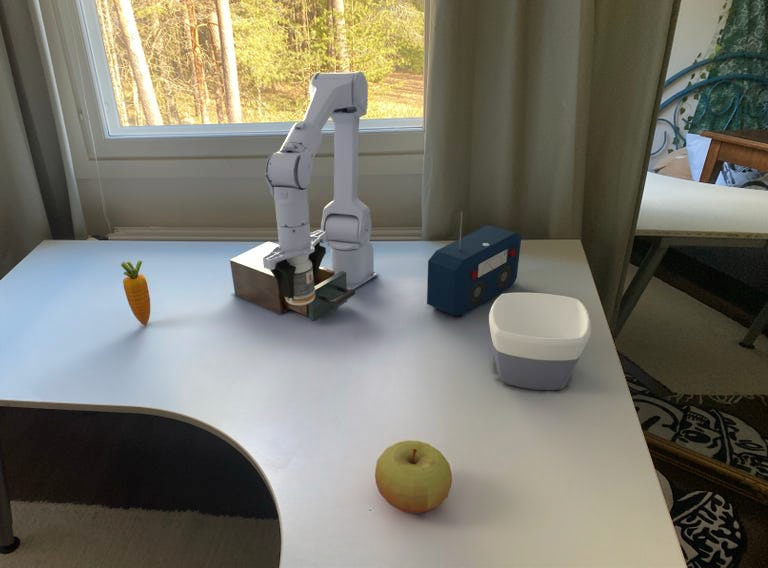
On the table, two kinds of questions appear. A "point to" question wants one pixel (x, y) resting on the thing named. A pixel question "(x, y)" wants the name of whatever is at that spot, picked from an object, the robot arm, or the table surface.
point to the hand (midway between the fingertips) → (299, 289)
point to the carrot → (137, 292)
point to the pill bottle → (302, 280)
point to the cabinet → (257, 279)
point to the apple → (413, 476)
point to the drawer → (324, 295)
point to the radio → (472, 269)
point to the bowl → (538, 338)
